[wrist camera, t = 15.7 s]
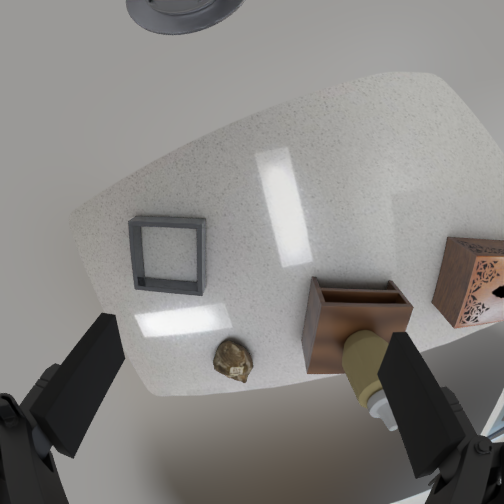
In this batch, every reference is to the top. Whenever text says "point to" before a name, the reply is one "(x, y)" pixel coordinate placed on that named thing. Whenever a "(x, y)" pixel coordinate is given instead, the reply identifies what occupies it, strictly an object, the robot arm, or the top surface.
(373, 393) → the squeeze bottle
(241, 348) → the fossilized seashell
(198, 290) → the holder
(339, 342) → the wooden shelf
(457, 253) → the tissue box cover
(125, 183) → the top surface
